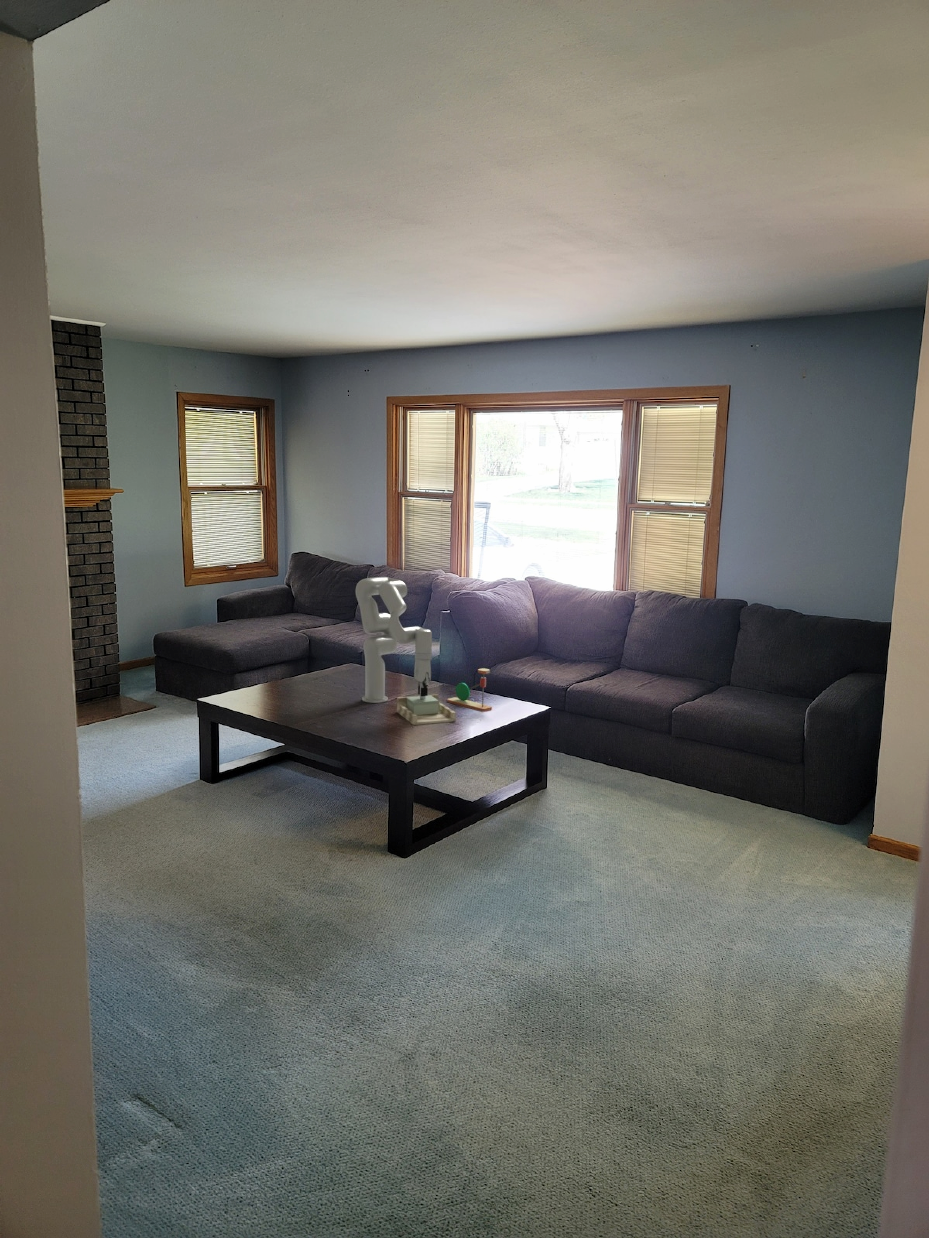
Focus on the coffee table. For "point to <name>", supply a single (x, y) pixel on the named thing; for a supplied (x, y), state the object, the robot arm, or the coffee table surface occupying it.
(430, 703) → the green joystick
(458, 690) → the crank mechanism
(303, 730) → the coffee table surface
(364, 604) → the robot arm
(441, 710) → the bay
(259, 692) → the coffee table surface
